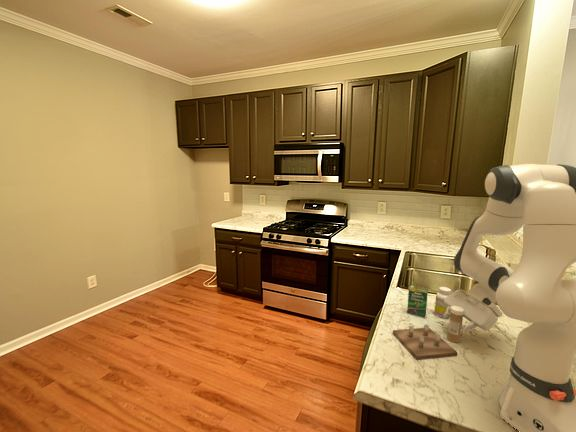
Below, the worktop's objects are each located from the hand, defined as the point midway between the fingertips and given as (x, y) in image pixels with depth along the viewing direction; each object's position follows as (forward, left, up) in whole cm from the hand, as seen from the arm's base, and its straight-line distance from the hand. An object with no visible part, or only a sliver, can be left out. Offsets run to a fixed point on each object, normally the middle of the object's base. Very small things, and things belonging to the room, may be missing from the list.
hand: (454, 323), depth 109 cm
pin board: (-1, +13, -7) cm, 15 cm away
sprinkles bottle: (0, -1, -7) cm, 7 cm away
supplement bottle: (+18, -10, -7) cm, 22 cm away
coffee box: (+20, +2, -7) cm, 21 cm away
